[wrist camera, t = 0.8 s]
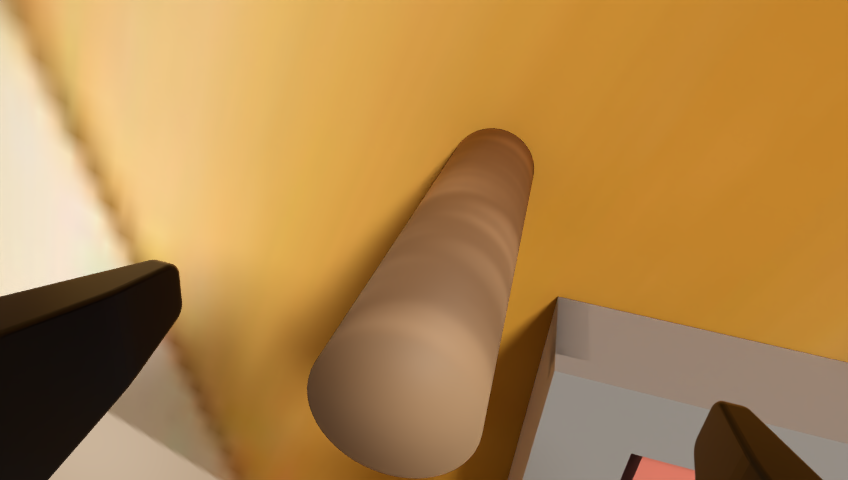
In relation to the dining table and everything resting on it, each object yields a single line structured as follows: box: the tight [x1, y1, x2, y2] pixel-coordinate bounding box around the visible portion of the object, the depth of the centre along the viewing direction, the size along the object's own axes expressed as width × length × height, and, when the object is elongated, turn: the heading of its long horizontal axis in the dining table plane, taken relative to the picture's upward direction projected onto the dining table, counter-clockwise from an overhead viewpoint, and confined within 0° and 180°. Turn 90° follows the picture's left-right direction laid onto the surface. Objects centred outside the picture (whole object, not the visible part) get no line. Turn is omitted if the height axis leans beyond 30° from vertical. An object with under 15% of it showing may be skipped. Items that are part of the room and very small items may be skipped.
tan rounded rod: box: [307, 128, 534, 478], centre depth 13 cm, size 3×3×11 cm
